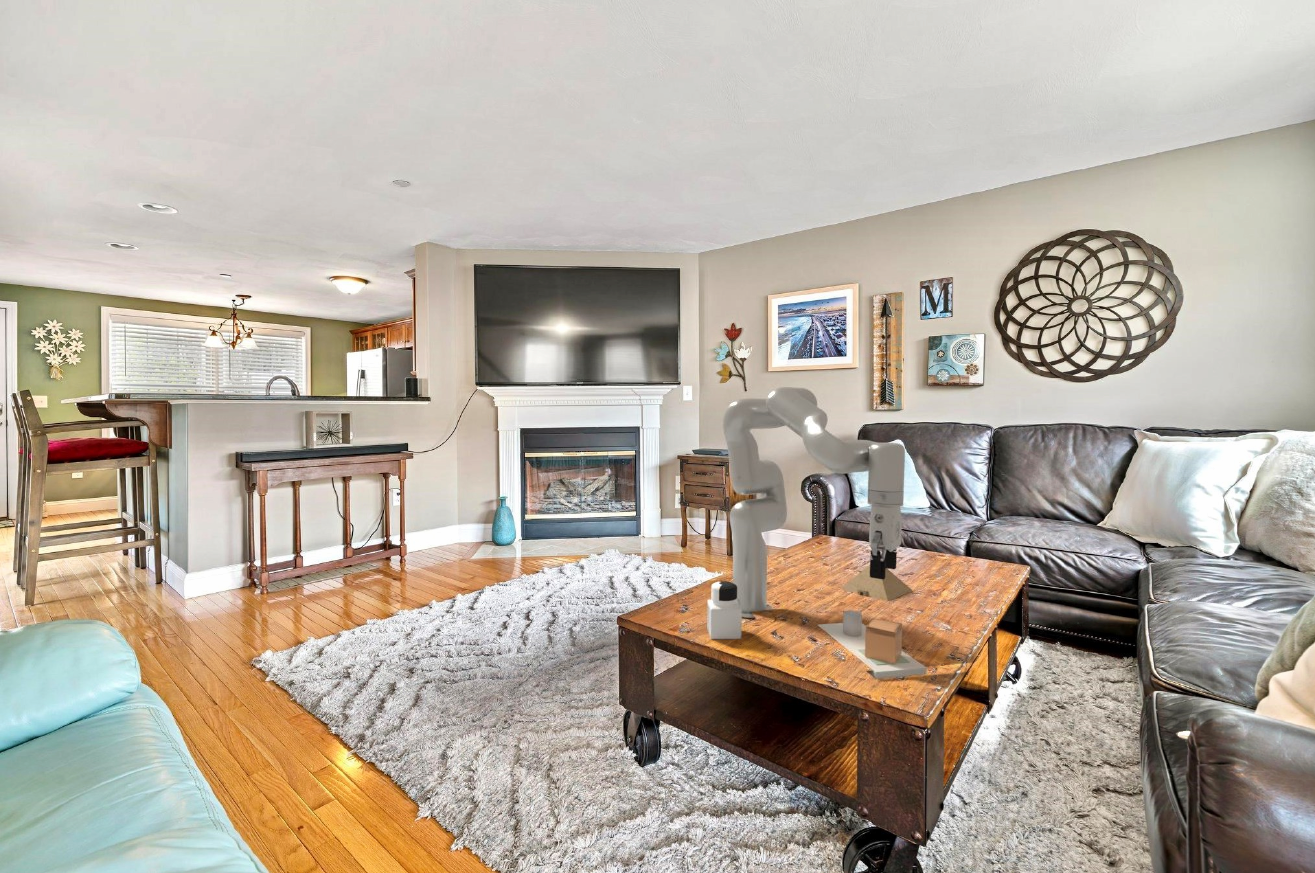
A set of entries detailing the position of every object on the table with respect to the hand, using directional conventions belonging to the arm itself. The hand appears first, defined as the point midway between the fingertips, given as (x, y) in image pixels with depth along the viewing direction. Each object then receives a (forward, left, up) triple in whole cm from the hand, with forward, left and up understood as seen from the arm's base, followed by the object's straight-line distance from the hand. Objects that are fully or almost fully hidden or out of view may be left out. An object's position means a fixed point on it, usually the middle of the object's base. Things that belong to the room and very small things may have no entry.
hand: (883, 573), depth 134 cm
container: (-30, +22, -21) cm, 43 cm away
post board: (0, +6, -20) cm, 21 cm away
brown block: (0, -1, -19) cm, 19 cm away
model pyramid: (+28, +49, -21) cm, 60 cm away
